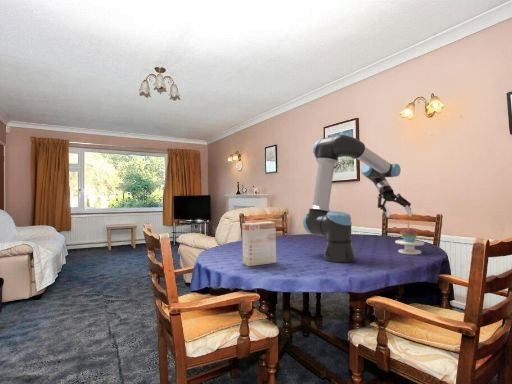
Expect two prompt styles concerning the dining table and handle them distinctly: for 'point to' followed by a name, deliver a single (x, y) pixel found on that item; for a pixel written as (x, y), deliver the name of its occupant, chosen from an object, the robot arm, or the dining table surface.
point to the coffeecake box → (259, 243)
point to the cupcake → (409, 234)
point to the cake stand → (409, 247)
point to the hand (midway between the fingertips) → (400, 215)
